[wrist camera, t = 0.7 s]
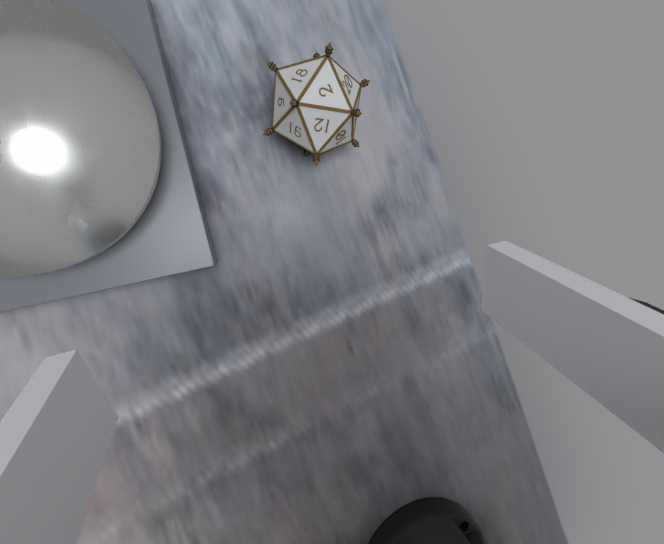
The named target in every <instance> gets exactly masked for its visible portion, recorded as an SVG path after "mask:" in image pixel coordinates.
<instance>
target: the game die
mask: <svg viewBox="0 0 664 544" xmlns="http://www.w3.org/2000/svg"><path fill="white" fill-rule="evenodd" d="M325 49H326V50H325V52H326V55H323V56H320V55H319V54H318V53H317V52H316V54H315V55H314V56H313V57H314V58H312V59H309V60H305V61H302V62H298V63H295V64H291V65H288V66H284V67H281V68H277V67H276V64H274V63H273V62H268V61H267V64H268V66H269V68H270V69H271V70H273V71H274V72H275V84H274V102H273V120H272V128H270V129H269V128H268V129H267V130H266V129H265V132H264V134H263V135H268V136H269V135H270V134H272V133H273V132H275V133H277V134H279V135H281V136H282V137H284V138H286V139H288V140H289V141H291V142H293V143H295V144H296V145H298V146H300V147H302V148H303V149H305V151H304V153H305V155H306V156H308V155H309V154H310V153H312V154H314V159H313V161H314V162H315V164H316V165H317V164H318V162H319V161H320V160H319V158H320V157H319V155H320V154H322V153H324V152H327V151H329V150H332V149H334V148H337V147H339V146H342V145H344V144H347V143H349V142H351V143H352V145H354V147H359V142H357V140H354V139H353V138H354V131H355V125H356V118H357V117H359V116H360V115H361V114H362V113H361V112H360V109H358V105H359V99H360V92H361V87H365V86H368V83H369V82H370V80H365V79H364V80H362V82H361V83H359V82H358V81H356V80H355V79H354V78H353V77H352V76H351V75H350V74H349V73H348V72H347V71H345V70H344V69H343V68H342V67H341V66H340V65H339V64H338V63H337V62H336V61H334V60H333V59H332V58H331V57H330V55H331V54H332V50H333V48H332V46H331V42H330V43H329V44H328V46H326V48H325Z"/></svg>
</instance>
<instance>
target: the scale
mask: <svg viewBox="0 0 664 544" xmlns="http://www.w3.org/2000/svg"><path fill="white" fill-rule="evenodd" d="M65 1H67V2H68V3H70V4H71V5H73V6H74V7H76V8H77V9H79V10H80V11H82V12H83V13H84V14H86V15H87V16H88V17H89V18H90V19H92V20H93V21H94V22H95V23H97V24H98V25H99V26H100V27H101V28H102V29H103V30H104V31H105V32H106V33H107V34H108V35H109V36H110V37H111V38H112V39H113V40H114V41H115V42H116V43H117V44H118V46H119V47H120V48H121V49H122V51H123V52H124V53H125V54H126V56H127V57H128V58H129V60H130V61H131V63H132V65H133V66H134V68H135V69H136V71H137V72H138V74H139V76H140V77H141V79H142V80H143V82H144V84H145V87H146V89H147V91H148V93H149V95H150V97H151V99H152V102H153V105H154V108H155V111H156V114H157V118H158V123H159V128H160V134H161V163H160V171H159V175H158V179H157V184H156V187H155V189H154V192H153V194H152V197H151V199H150V201H149V203H148V205H147V207H146V208H145V210H144V212H143V214H142V215H141V216H140V218H139V219H138V220H137V221H136V223H135V224H134V225H133V227H132V228H131V229H130V230H129V231H128V232H127V233H126V234H125V235H124V236H123V237H122V238H121V239H119V240H118V241H117V242H116V243H114V244H113V245H111V246H110V247H109V248H107V249H106V250H105V251H103V252H101V253H99V254H97V255H96V256H94V257H92V258H90V259H88V260H86V261H83V262H81V263H78V264H76V265H73V266H71V267H67V268H64V269H60V270H56V271H52V272H47V273H41V274H34V275H27V276H11V277H0V312H3V311H7V310H12V309H17V308H21V307H26V306H30V305H35V304H40V303H44V302H49V301H53V300H58V299H62V298H67V297H72V296H76V295H81V294H85V293H90V292H95V291H99V290H104V289H108V288H113V287H118V286H122V285H127V284H131V283H136V282H141V281H145V280H150V279H154V278H159V277H163V276H168V275H173V274H177V273H182V272H186V271H191V270H196V269H200V268H205V267H209V266H214V265H215V264H216V263H217V259H216V255H215V252H214V248H213V244H212V240H211V236H210V232H209V228H208V224H207V220H206V216H205V212H204V208H203V204H202V200H201V196H200V193H199V189H198V185H197V181H196V177H195V173H194V169H193V165H192V161H191V157H190V153H189V149H188V145H187V141H186V137H185V134H184V130H183V126H182V122H181V118H180V114H179V110H178V106H177V102H176V98H175V94H174V90H173V86H172V82H171V79H170V75H169V71H168V67H167V63H166V59H165V55H164V51H163V47H162V43H161V39H160V35H159V31H158V27H157V23H156V20H155V16H154V12H153V8H152V4H151V1H150V0H65Z"/></svg>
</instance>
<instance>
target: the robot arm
mask: <svg viewBox="0 0 664 544" xmlns="http://www.w3.org/2000/svg"><path fill="white" fill-rule="evenodd" d="M481 311H483V312H484V313H485V314H487V315H488V316H489V317H490V318H492V319H493V320H494V321H496V322H497V323H498V324H499V325H501V326H502V327H503V328H505V329H506V330H507V331H508V332H510V333H511V334H512V335H513V336H515V337H516V338H517V339H519V340H520V341H521V342H522V343H524V344H525V345H526V346H528V347H529V348H530V349H531V350H533V351H534V352H535V353H537V354H538V355H539V356H540V357H542V358H543V359H544V360H545V361H547V362H548V363H549V364H550V365H552V366H553V367H554V368H556V369H557V370H558V371H559V372H561V373H562V374H563V375H565V376H566V377H567V378H569V379H570V380H571V381H572V382H574V383H575V384H576V385H577V386H579V387H580V388H581V389H582V390H584V391H585V392H586V393H588V394H589V395H590V396H591V397H593V398H594V399H595V400H597V401H598V402H599V403H601V404H602V405H603V406H604V407H605V408H607V409H608V410H609V411H611V412H612V413H613V414H615V415H616V416H617V417H618V418H619V419H621V420H622V421H623V422H625V423H626V424H627V425H628V426H630V427H631V428H632V429H634V430H635V431H636V432H637V433H639V434H640V435H641V436H642V437H644V438H645V439H646V440H648V441H649V442H650V443H651V444H653V445H654V446H655V447H657V448H658V449H659V450H660V451H662V452H663V453H664V311H663V310H661V309H659V308H657V307H654V306H652V305H650V304H648V303H645V302H642V301H638V300H635V299H632V298H628V297H625V296H623V295H621V294H618V293H617V292H615V291H612V290H610V289H608V288H606V287H604V286H601V285H600V284H597V283H595V282H593V281H591V280H589V279H587V278H585V277H582V276H580V275H578V274H576V273H574V272H572V271H570V270H568V269H565V268H563V267H561V266H559V265H557V264H555V263H553V262H551V261H548V260H546V259H544V258H542V257H540V256H538V255H536V254H534V253H531V252H529V251H527V250H525V249H523V248H521V247H519V246H516V245H514V244H512V243H510V242H508V241H502V242H499V243H495V244H491V245H488V246H487V254H486V263H485V273H484V282H483V292H482V301H481ZM117 420H118V416H117V414H116V412H115V411H114V409H113V407H112V406H111V404H110V403H109V401H108V399H107V398H106V396H105V394H104V393H103V391H102V390H101V388H100V386H99V385H98V383H97V381H96V380H95V378H94V377H93V375H92V373H91V372H90V370H89V368H88V367H87V365H86V364H85V362H84V360H83V359H82V357H81V355H80V354H79V352H78V351H77V350H73V351H69V352H65V353H61V354H57V355H53V356H49V357H46V358H45V359H44V361H43V362H42V363H41V365H40V366H39V368H38V369H37V370H36V372H35V373H34V375H33V376H32V378H31V379H30V380H29V382H28V383H27V385H26V386H25V387H24V389H23V390H22V392H21V393H20V394H19V396H18V397H17V399H16V400H15V402H14V403H13V404H12V406H11V407H10V409H9V410H8V411H7V413H6V414H5V416H4V417H3V419H2V420H1V421H0V544H76V542H77V539H78V536H79V533H80V530H81V527H82V524H83V521H84V518H85V515H86V512H87V509H88V506H89V503H90V500H91V497H92V494H93V491H94V488H95V485H96V482H97V479H98V476H99V473H100V470H101V467H102V464H103V461H104V458H105V455H106V452H107V450H108V447H109V444H110V441H111V438H112V435H113V432H114V429H115V426H116V423H117ZM370 544H488V543H487V541H486V539H485V537H484V535H483V533H482V531H481V530H480V528H479V527H478V525H477V524H476V523H475V522H474V520H473V519H472V518H471V517H470V515H469V514H468V513H467V512H466V511H465V510H464V509H463V508H462V507H461V506H459V505H458V504H456V503H454V502H452V501H449V500H445V499H438V498H432V499H425V500H420V501H417V502H414V503H412V504H410V505H407V506H406V507H404V508H402V509H401V510H399V511H397V512H396V513H395V514H393V515H392V516H391V517H390V518H389V519H388V520H387V521H386V522H385V523H384V524H383V525H382V526H381V527H380V528H379V530H378V531H377V532H376V534H375V535H374V537H373V538H372V540H371V542H370Z"/></svg>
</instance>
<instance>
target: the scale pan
mask: <svg viewBox="0 0 664 544" xmlns="http://www.w3.org/2000/svg"><path fill="white" fill-rule="evenodd" d="M160 163H161V134H160V128H159V123H158V118H157V114H156V111H155V108H154V105H153V102H152V99H151V97H150V95H149V93H148V91H147V89H146V87H145V84H144V82H143V80H142V79H141V77H140V76H139V74H138V72H137V71H136V69H135V68H134V66H133V65H132V63H131V61H130V60H129V58H128V57H127V56H126V54H125V53H124V52H123V51H122V49H121V48H120V47H119V46H118V44H117V43H116V42H115V41H114V40H113V39H112V38H111V37H110V36H109V35H108V34H107V33H106V32H105V31H104V30H103V29H102V28H101V27H100V26H99V25H98V24H97V23H95V22H94V21H93V20H92V19H90V18H89V17H88V16H87V15H86V14H84V13H83V12H82V11H80V10H79V9H77V8H76V7H74V6H73V5H71V4H70V3H68V2H67V1H65V0H0V277H11V276H27V275H34V274H41V273H47V272H52V271H56V270H60V269H64V268H67V267H71V266H73V265H76V264H78V263H81V262H83V261H86V260H88V259H90V258H92V257H94V256H96V255H97V254H99V253H101V252H103V251H105V250H106V249H107V248H109V247H110V246H111V245H113V244H114V243H116V242H117V241H118V240H119V239H121V238H122V237H123V236H124V235H125V234H126V233H127V232H128V231H129V230H130V229H131V228H132V227H133V225H134V224H135V223H136V221H137V220H138V219H139V218H140V216H141V215H142V214H143V212H144V210H145V208H146V207H147V205H148V203H149V201H150V199H151V197H152V194H153V192H154V189H155V187H156V184H157V179H158V175H159V171H160Z"/></svg>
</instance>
